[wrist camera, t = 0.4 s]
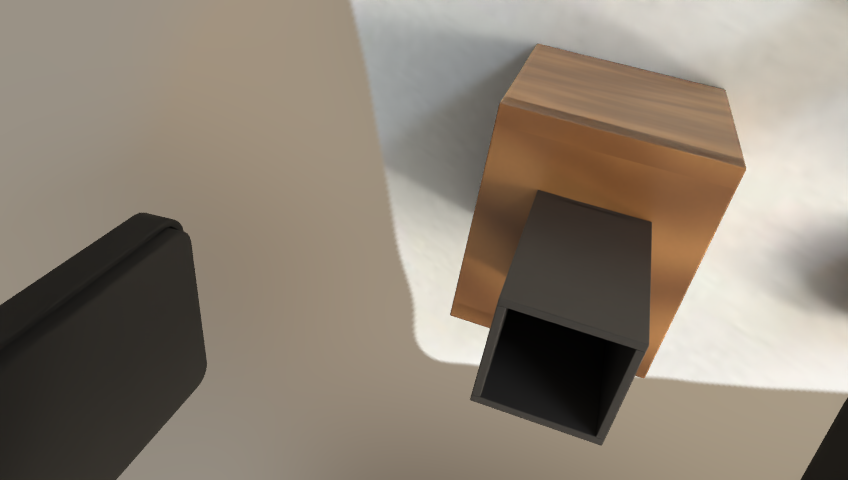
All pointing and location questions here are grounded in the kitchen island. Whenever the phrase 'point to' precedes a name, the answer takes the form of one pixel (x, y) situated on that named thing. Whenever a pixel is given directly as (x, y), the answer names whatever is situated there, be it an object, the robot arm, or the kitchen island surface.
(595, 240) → the holder
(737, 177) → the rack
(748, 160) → the kitchen island surface
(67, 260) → the robot arm
